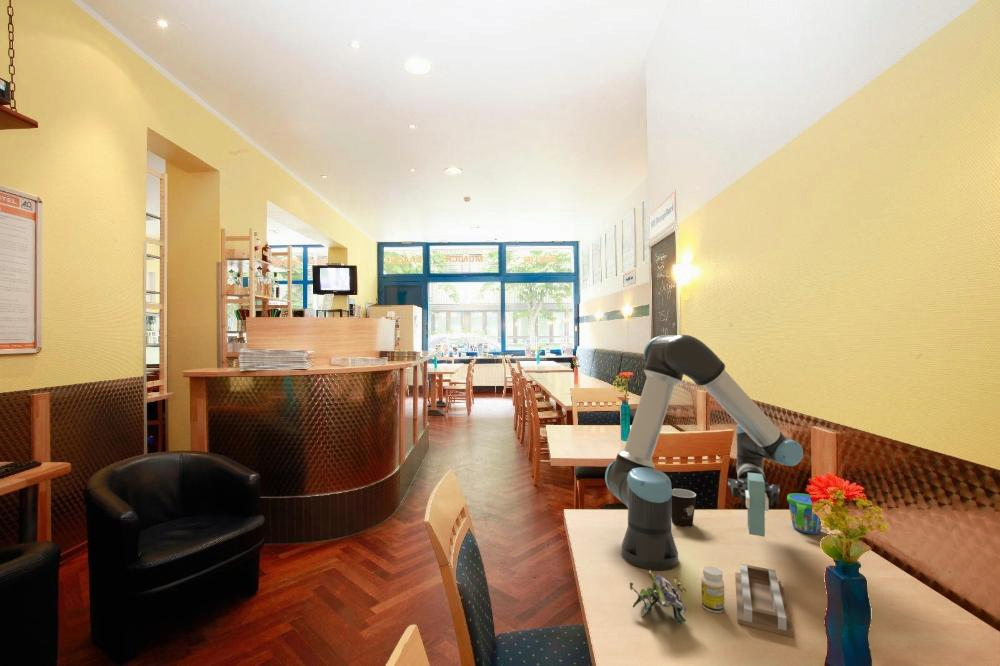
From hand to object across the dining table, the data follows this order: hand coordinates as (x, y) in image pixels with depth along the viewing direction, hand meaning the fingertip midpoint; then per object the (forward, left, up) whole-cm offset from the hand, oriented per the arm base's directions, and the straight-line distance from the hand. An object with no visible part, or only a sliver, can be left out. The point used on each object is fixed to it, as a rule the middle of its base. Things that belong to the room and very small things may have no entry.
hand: (757, 504), depth 116 cm
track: (-2, -12, -19) cm, 23 cm away
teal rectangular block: (+1, +5, -9) cm, 10 cm away
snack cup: (+23, +38, -19) cm, 48 cm away
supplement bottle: (-13, -17, -19) cm, 29 cm away
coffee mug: (-16, +32, -19) cm, 41 cm away
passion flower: (-25, -25, -19) cm, 40 cm away
